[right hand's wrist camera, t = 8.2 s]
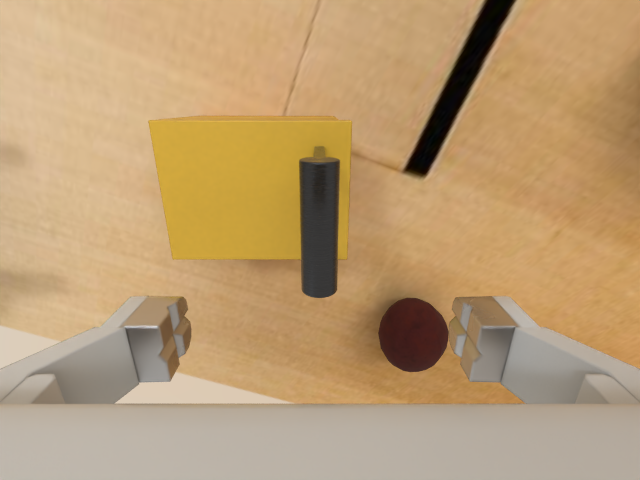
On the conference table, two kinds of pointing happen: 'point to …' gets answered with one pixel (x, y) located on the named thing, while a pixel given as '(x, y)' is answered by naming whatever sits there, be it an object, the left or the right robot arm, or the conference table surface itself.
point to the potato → (413, 335)
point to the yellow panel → (258, 192)
